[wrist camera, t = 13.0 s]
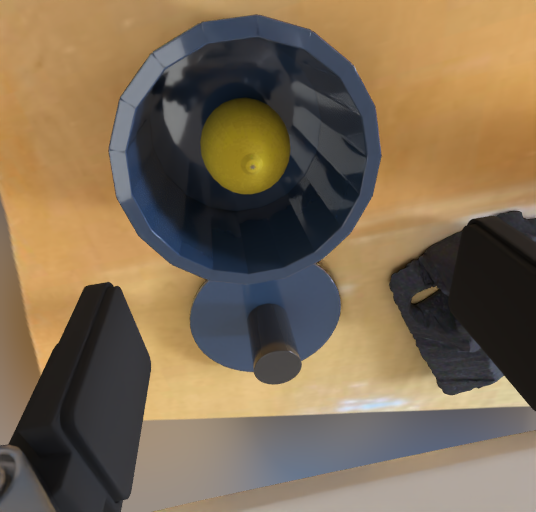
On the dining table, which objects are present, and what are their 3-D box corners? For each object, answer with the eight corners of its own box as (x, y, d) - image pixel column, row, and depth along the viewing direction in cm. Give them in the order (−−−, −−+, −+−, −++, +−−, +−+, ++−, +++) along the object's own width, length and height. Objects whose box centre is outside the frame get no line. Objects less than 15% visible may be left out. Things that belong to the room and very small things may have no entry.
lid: (173, 264, 32) (166, 318, 26) (336, 235, 33) (366, 281, 27) (207, 375, 40) (207, 437, 34) (338, 349, 41) (361, 405, 35)
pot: (109, 36, 23) (58, 41, 15) (327, 7, 24) (390, -4, 16) (167, 229, 30) (154, 302, 22) (331, 201, 31) (376, 261, 23)
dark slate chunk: (418, 390, 47) (439, 424, 43) (379, 263, 35) (402, 294, 31) (536, 344, 45) (568, 375, 41) (536, 196, 34) (580, 218, 30)
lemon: (204, 170, 27) (204, 216, 21) (197, 89, 24) (194, 112, 18) (277, 167, 28) (300, 211, 21) (279, 88, 25) (306, 110, 18)
